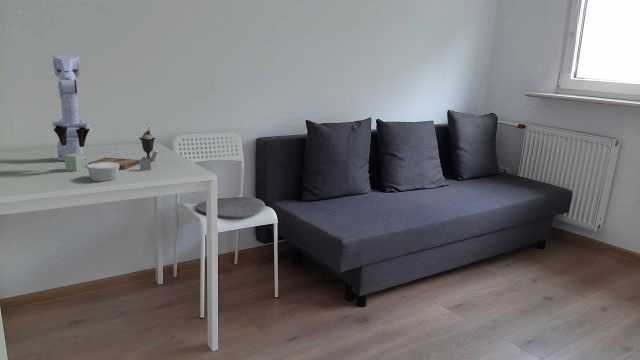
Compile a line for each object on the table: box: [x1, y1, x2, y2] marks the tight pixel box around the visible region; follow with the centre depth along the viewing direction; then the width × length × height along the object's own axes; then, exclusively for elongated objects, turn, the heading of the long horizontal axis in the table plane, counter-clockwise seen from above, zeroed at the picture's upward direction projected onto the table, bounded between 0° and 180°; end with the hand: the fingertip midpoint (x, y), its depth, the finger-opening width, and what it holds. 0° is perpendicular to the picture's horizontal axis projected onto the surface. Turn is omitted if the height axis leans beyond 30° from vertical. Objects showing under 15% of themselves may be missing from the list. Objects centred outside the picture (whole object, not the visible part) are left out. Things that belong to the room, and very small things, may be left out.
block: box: [64, 154, 85, 172], centre depth 199 cm, size 4×4×6 cm
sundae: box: [138, 126, 156, 163], centre depth 219 cm, size 7×7×15 cm
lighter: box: [139, 149, 159, 171], centre depth 204 cm, size 7×2×8 cm, turn 110°
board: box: [87, 157, 140, 170], centre depth 210 cm, size 16×12×2 cm
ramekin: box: [86, 162, 120, 182], centre depth 188 cm, size 11×11×5 cm
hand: (73, 145), depth 198 cm, fingers open, 7 cm apart
